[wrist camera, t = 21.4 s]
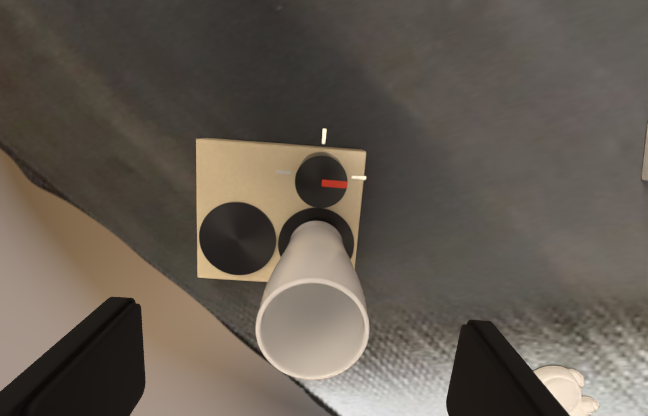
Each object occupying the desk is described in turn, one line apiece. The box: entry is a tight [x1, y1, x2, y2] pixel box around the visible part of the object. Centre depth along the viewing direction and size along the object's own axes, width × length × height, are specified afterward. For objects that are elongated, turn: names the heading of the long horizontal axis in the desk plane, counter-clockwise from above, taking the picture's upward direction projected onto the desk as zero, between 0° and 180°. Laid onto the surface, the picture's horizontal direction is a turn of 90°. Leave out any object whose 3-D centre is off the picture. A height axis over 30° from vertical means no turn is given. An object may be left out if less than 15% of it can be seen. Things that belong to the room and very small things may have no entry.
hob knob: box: [295, 152, 348, 208], centre depth 31 cm, size 4×4×5 cm
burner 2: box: [278, 207, 354, 260], centre depth 35 cm, size 8×8×1 cm
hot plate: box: [196, 129, 366, 282], centre depth 35 cm, size 16×16×3 cm
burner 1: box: [199, 202, 276, 275], centre depth 35 cm, size 8×8×1 cm
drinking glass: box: [256, 221, 369, 380], centre depth 27 cm, size 7×7×15 cm
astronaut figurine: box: [533, 365, 599, 416], centre depth 42 cm, size 9×12×3 cm
